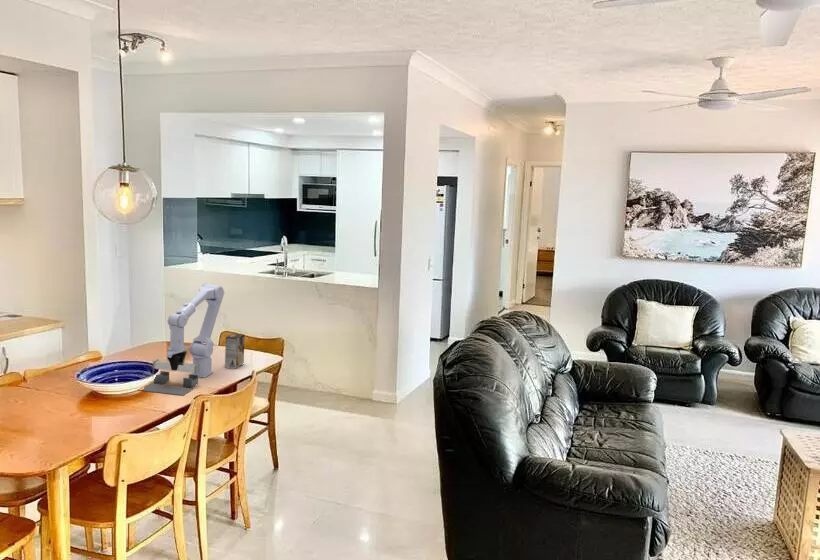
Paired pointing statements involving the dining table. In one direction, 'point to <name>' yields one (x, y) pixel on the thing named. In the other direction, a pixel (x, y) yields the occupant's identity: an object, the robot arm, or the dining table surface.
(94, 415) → the dining table surface
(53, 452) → the dining table surface
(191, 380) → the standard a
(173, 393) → the mat
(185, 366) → the rail
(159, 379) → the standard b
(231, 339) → the coffee box
